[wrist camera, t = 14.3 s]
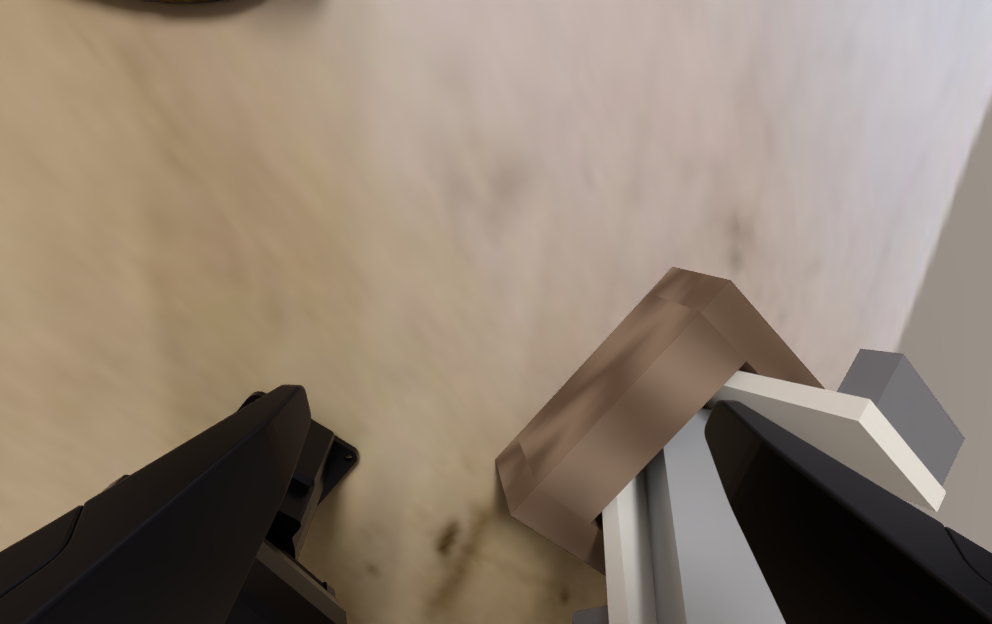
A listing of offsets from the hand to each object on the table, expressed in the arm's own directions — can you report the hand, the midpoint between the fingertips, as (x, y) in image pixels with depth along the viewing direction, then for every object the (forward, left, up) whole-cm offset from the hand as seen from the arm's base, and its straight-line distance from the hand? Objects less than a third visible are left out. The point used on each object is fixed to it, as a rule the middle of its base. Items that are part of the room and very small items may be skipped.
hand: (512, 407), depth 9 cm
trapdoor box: (+1, -16, -13) cm, 21 cm away
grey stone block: (+2, -16, -11) cm, 20 cm away
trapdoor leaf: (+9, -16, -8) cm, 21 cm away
